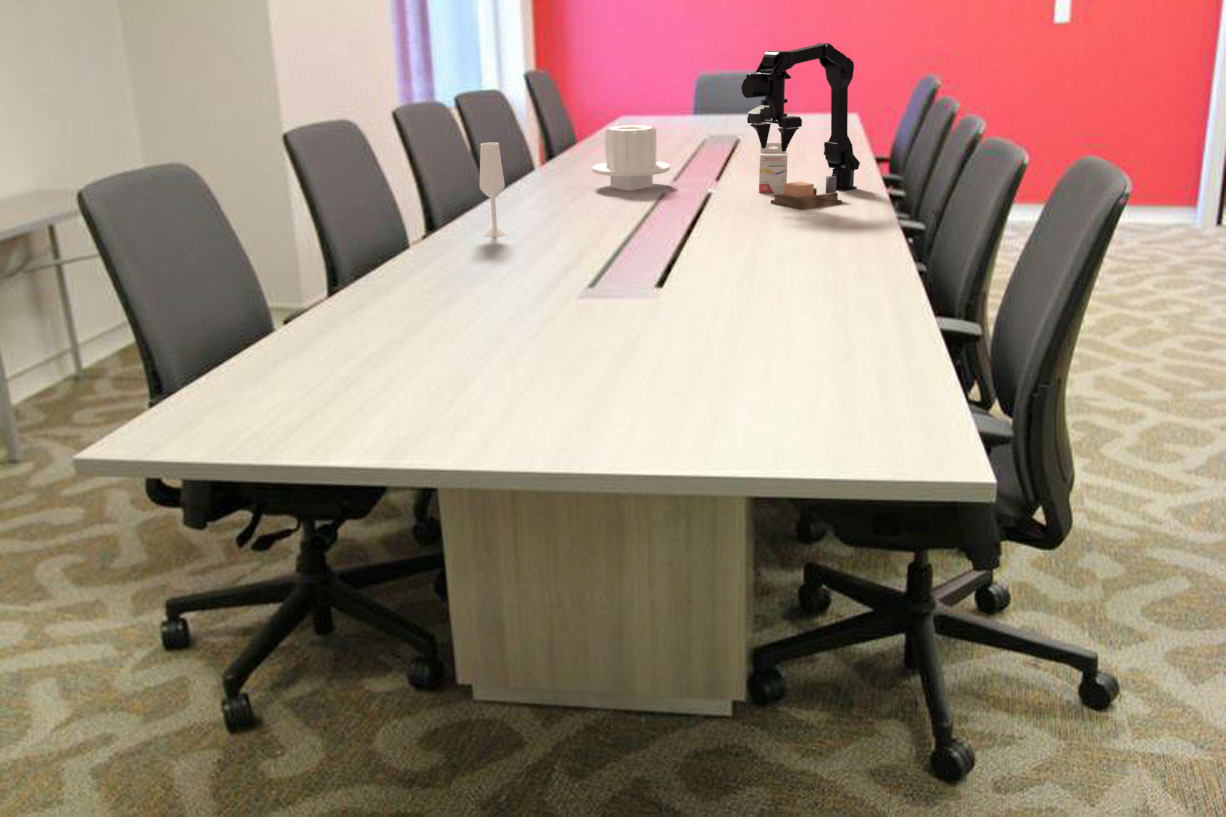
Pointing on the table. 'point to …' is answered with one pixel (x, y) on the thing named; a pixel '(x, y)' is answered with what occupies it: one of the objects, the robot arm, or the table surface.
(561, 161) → the table surface
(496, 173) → the champagne flute
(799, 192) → the tethered block
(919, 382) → the table surface
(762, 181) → the ink cartridge box
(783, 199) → the wooden tray
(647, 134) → the flanged gear
